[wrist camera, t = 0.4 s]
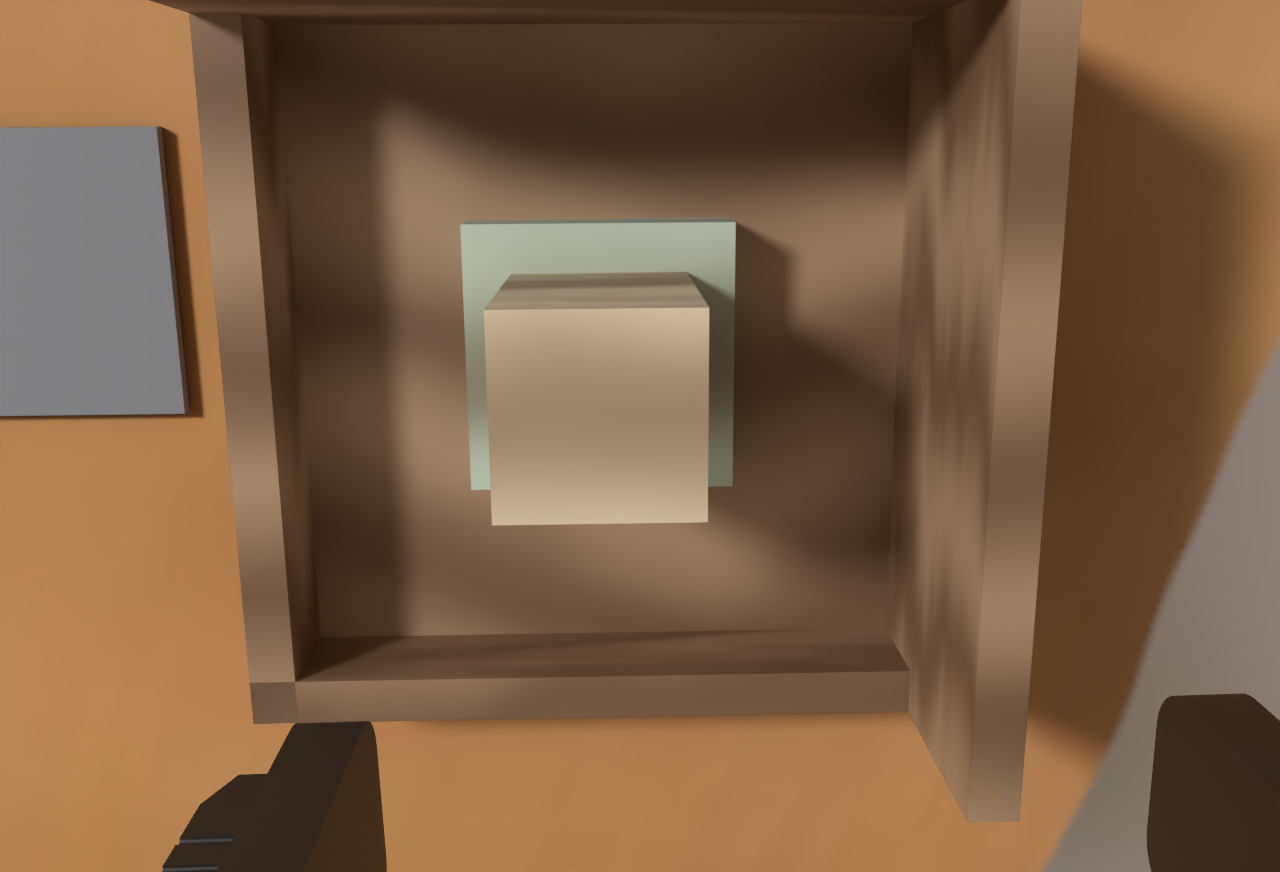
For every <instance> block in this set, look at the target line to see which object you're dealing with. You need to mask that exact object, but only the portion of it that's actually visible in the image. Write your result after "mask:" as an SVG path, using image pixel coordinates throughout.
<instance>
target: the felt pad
mask: <svg viewBox="0 0 1280 872" xmlns="http://www.w3.org/2000/svg"><path fill="white" fill-rule="evenodd" d="M188 411H190V410H189V400H188V389H187V379H186V369H185V359H184V349H183V339H182V328H181V318H180V308H179V298H178V288H177V277H176V267H175V257H174V247H173V237H172V226H171V216H170V206H169V196H168V186H167V175H166V165H165V155H164V145H163V135H162V127H20V128H0V416H40V415H122V414H185V413H187V412H188Z"/></svg>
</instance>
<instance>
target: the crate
mask: <svg viewBox="0 0 1280 872" xmlns="http://www.w3.org/2000/svg"><path fill="white" fill-rule="evenodd" d="M150 1H153V2H157V3H160V4H163V5H166V6H169V7H172V8H175V9H178V10H182V11H185V12H188V13H189V19H190V30H191V41H192V52H193V63H194V74H195V85H196V96H197V107H198V118H199V129H200V140H201V151H202V162H203V173H204V184H205V195H206V206H207V217H208V228H209V239H210V250H211V261H212V272H213V283H214V294H215V305H216V316H217V327H218V338H219V349H220V360H221V371H222V382H223V393H224V404H225V415H226V426H227V437H228V448H229V459H230V470H231V481H232V492H233V503H234V514H235V525H236V536H237V547H238V558H239V569H240V580H241V591H242V602H243V613H244V624H245V635H246V646H247V657H248V668H249V679H250V690H251V701H252V712H253V723H254V724H270V723H322V722H352V721H369V722H378V721H432V720H486V719H540V718H594V717H648V716H702V715H756V714H810V713H864V712H909V714H910V716H911V717H912V719H913V721H914V723H915V725H916V727H917V729H918V731H919V732H920V734H921V736H922V738H923V740H924V742H925V744H926V746H927V747H928V749H929V751H930V753H931V755H932V757H933V759H934V761H935V762H936V764H937V766H938V768H939V770H940V772H941V774H942V776H943V777H944V779H945V781H946V783H947V785H948V787H949V789H950V791H951V792H952V794H953V796H954V798H955V800H956V802H957V804H958V806H959V807H960V809H961V811H962V813H963V815H964V817H965V819H966V821H967V822H1005V821H1019V820H1020V806H1021V793H1022V780H1023V767H1024V754H1025V741H1026V728H1027V715H1028V702H1029V689H1030V676H1031V663H1032V650H1033V637H1034V624H1035V611H1036V598H1037V585H1038V572H1039V559H1040V546H1041V533H1042V520H1043V506H1044V493H1045V480H1046V467H1047V454H1048V441H1049V428H1050V415H1051V402H1052V389H1053V376H1054V363H1055V350H1056V337H1057V324H1058V311H1059V298H1060V285H1061V272H1062V259H1063V246H1064V233H1065V219H1066V206H1067V193H1068V180H1069V167H1070V154H1071V141H1072V128H1073V115H1074V102H1075V89H1076V76H1077V63H1078V50H1079V37H1080V24H1081V11H1082V0H150ZM618 272H687V273H688V275H689V276H690V278H691V280H692V281H693V283H694V284H695V286H696V287H697V289H698V291H699V292H700V294H701V295H702V297H703V298H704V300H705V302H706V303H707V305H708V306H709V427H708V522H697V523H628V524H559V525H492V515H491V488H490V461H489V435H488V408H487V382H486V355H485V329H484V309H485V308H486V306H487V305H488V304H489V302H490V301H491V300H492V298H493V297H494V296H495V294H496V293H497V292H498V290H499V289H500V288H501V286H502V285H503V284H504V282H505V281H506V280H507V278H508V277H509V276H510V274H511V273H618Z"/></svg>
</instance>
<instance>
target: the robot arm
mask: <svg viewBox="0 0 1280 872" xmlns="http://www.w3.org/2000/svg"><path fill="white" fill-rule="evenodd" d="M1147 849H1148V857H1149V863H1150V867H1151V871H1152V872H1280V721H1279V720H1278V719H1277V718H1275V716H1273V715H1272V714H1271V713H1270V712H1269V711H1268V710H1267V709H1266V708H1264V707H1263V706H1262V705H1261V704H1260V703H1259V702H1257V701H1256V700H1255V699H1254V698H1253V697H1251V696H1249V695H1247V694H1220V695H1218V694H1217V695H1188V696H1171V697H1168V698H1167V699H1166V700H1165V701H1164V703H1163V704H1162V706H1161V708H1160V711H1159V715H1158V721H1157V729H1156V740H1155V751H1154V762H1153V772H1152V783H1151V794H1150V805H1149V816H1148V825H1147ZM162 872H387V864H386V849H385V837H384V826H383V814H382V803H381V791H380V779H379V768H378V756H377V745H376V738H375V733H374V729H373V726H372V724H371V722H369V721H352V722H322V723H297V724H295V725H294V726H293V727H292V728H291V730H290V732H289V734H288V736H287V738H286V739H285V741H284V743H283V745H282V747H281V749H280V751H279V753H278V755H277V756H276V758H275V760H274V762H273V764H272V766H271V768H270V770H269V772H268V773H267V774H249V775H238V776H237V777H235V778H234V779H233V780H232V781H230V782H229V783H228V784H226V785H225V786H224V787H222V788H221V789H220V790H218V791H217V792H216V793H215V794H213V795H212V796H211V797H209V798H208V799H207V800H205V801H204V802H203V803H201V804H200V806H199V807H198V809H197V811H196V812H195V814H194V815H193V817H192V819H191V820H190V822H189V824H188V825H187V827H186V829H185V830H184V832H183V834H182V835H181V837H180V843H179V845H175V847H174V849H173V850H172V852H171V854H170V855H169V857H168V858H167V860H166V862H165V863H164V865H163V871H162Z"/></svg>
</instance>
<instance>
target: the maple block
mask: <svg viewBox="0 0 1280 872" xmlns="http://www.w3.org/2000/svg"><path fill="white" fill-rule="evenodd" d="M484 329H485V355H486V382H487V408H488V435H489V461H490V488H491V515H492V525H559V524H628V523H697V522H708V427H709V306H708V305H707V303H706V302H705V300H704V298H703V297H702V295H701V294H700V292H699V291H698V289H697V287H696V286H695V284H694V283H693V281H692V280H691V278H690V276H689V275H688V273H687V272H618V273H511V274H510V276H509V277H508V278H507V280H506V281H505V282H504V284H503V285H502V286H501V288H500V289H499V290H498V292H497V293H496V294H495V296H494V297H493V298H492V300H491V301H490V302H489V304H488V305H487V306H486V308H485V309H484Z"/></svg>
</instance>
